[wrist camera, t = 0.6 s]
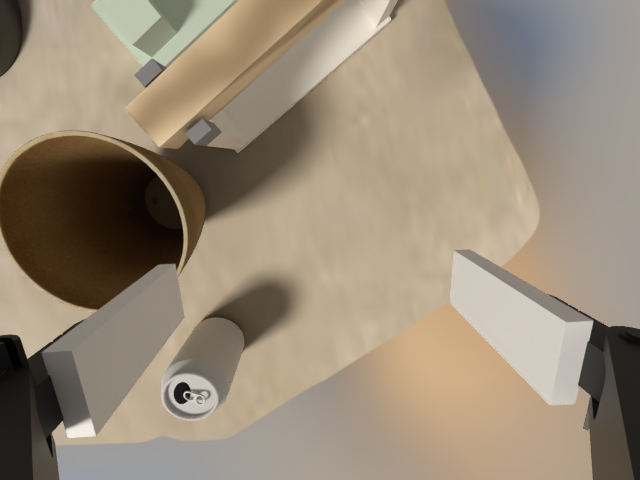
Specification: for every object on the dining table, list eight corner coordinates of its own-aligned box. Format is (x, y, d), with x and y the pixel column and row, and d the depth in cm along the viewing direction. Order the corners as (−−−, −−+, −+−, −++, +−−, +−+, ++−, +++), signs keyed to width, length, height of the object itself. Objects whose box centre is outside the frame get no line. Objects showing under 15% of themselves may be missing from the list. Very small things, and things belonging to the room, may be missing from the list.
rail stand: (199, 105, 37) (129, 71, 23) (352, -34, 34) (384, -175, 20) (238, 152, 39) (197, 149, 24) (388, 24, 36) (443, -68, 21)
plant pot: (109, 137, 38) (-29, 123, 22) (233, 145, 39) (182, 137, 23) (121, 254, 42) (9, 311, 26) (233, 260, 42) (190, 318, 27)
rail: (148, 114, 26) (124, 108, 23) (410, -129, 23) (428, -179, 19) (177, 148, 27) (159, 147, 24) (436, -82, 24) (458, -123, 20)
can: (197, 309, 44) (157, 363, 32) (250, 320, 45) (229, 376, 33) (190, 354, 46) (149, 421, 34) (240, 364, 46) (218, 432, 35)
